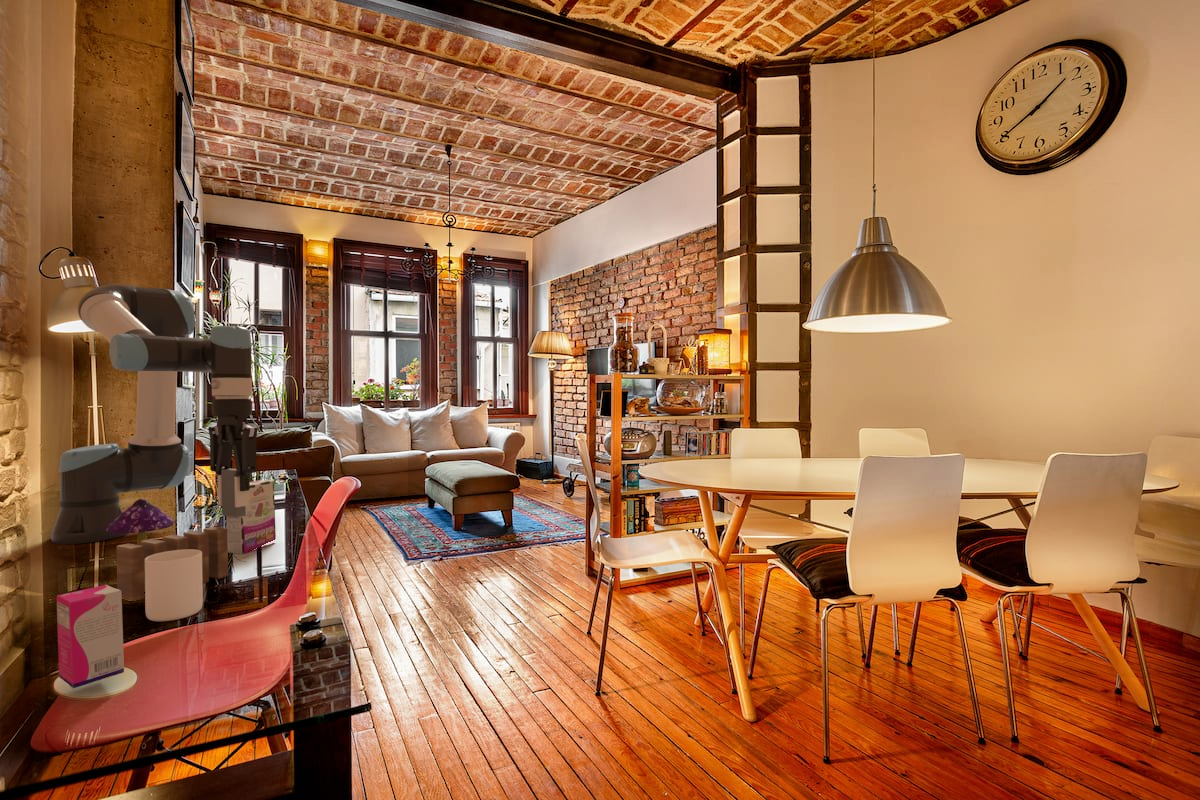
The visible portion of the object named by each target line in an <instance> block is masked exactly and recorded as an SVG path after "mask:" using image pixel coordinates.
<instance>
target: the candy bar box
mask: <svg viewBox="0 0 1200 800" xmlns="http://www.w3.org/2000/svg"><path fill="white" fill-rule="evenodd" d="M249 484H250V485H249V486H250V489H249V505H248V506H245V511H246V516H240V517H231V516H225V518H226V522H225V523H226V529H227V537H228V554H229V553H230V554H238V555H245V554H247V553H251V552H253V551H252V550H254V549H256V548H258V547H260V546H262V545H264V544H266V543H268V542H271V541H273V540H275V539H276V538H277V537H276V511H275V510H276V509H275V508H276V507H275V504H276V503H275V502H276V501H275V480H269V479H268V480H267V479H263V480H262V479H260V480H255V481H250V483H249ZM250 551H251V552H250ZM254 551H255V550H254Z"/></svg>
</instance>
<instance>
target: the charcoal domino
mask: <svg viewBox="0 0 1200 800" xmlns="http://www.w3.org/2000/svg"><path fill="white" fill-rule="evenodd" d="M242 470H243V469H242ZM235 474H237V470H236V468H231V467H230V469H221V475H222V505H221V516H224V517H226V516H231V517H240V516H246V511H245V506H242V507H235V478H234V477H235V476H234V475H235Z"/></svg>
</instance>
